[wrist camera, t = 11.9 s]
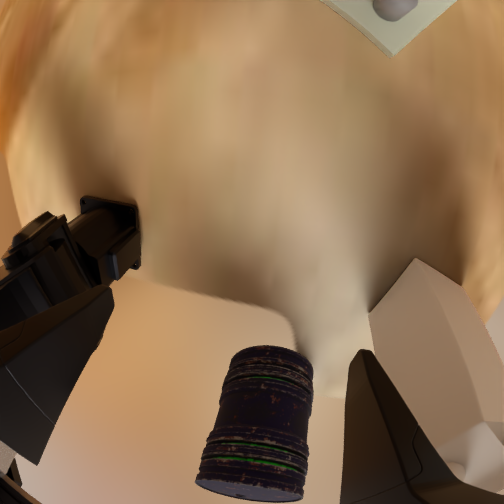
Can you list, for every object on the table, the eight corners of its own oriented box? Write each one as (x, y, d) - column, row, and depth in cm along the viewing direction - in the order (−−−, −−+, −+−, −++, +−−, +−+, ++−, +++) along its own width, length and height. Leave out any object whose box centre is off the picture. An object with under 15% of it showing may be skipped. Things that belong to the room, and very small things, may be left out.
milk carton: (462, 286, 21) (535, 470, 5) (417, 336, 24) (449, 513, 8) (414, 255, 20) (495, 491, 4) (366, 314, 24) (384, 528, 8)
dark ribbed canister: (242, 332, 28) (202, 473, 15) (330, 359, 28) (325, 493, 15) (221, 379, 33) (188, 486, 20) (293, 400, 33) (279, 505, 20)
